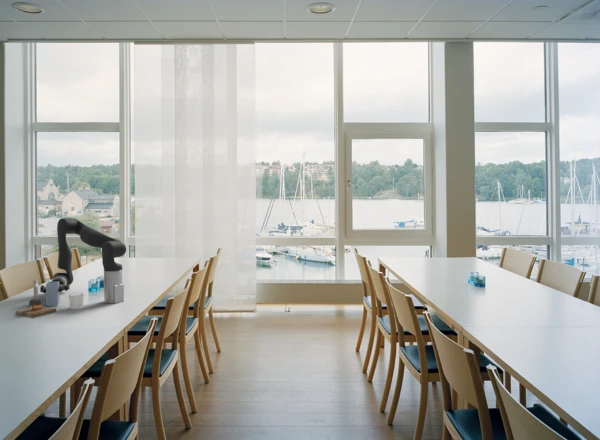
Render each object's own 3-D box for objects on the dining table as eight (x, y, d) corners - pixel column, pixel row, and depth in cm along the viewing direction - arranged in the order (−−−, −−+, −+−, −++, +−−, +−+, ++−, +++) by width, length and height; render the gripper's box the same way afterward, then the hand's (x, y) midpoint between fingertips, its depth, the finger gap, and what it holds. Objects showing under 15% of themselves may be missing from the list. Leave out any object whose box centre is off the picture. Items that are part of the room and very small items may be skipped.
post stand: (56, 311, 210) (55, 279, 209) (34, 317, 200) (34, 283, 199) (38, 308, 216) (37, 276, 215) (16, 313, 206) (15, 280, 205)
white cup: (80, 305, 222) (80, 292, 222) (86, 307, 218) (86, 294, 218) (66, 307, 217) (66, 294, 217) (72, 310, 213) (72, 296, 212)
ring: (42, 302, 211) (42, 298, 210) (40, 304, 206) (40, 300, 206) (31, 302, 209) (31, 298, 209) (29, 305, 204) (29, 301, 204)
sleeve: (59, 303, 225) (59, 281, 225) (57, 305, 221) (57, 283, 220) (48, 304, 224) (48, 281, 223) (46, 306, 219) (46, 283, 218)
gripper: (43, 278, 232) (35, 284, 216) (72, 277, 237) (67, 283, 222) (43, 291, 233) (36, 299, 217) (72, 290, 238) (67, 297, 222)
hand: (52, 291), depth 219 cm, fingers open, 6 cm apart
